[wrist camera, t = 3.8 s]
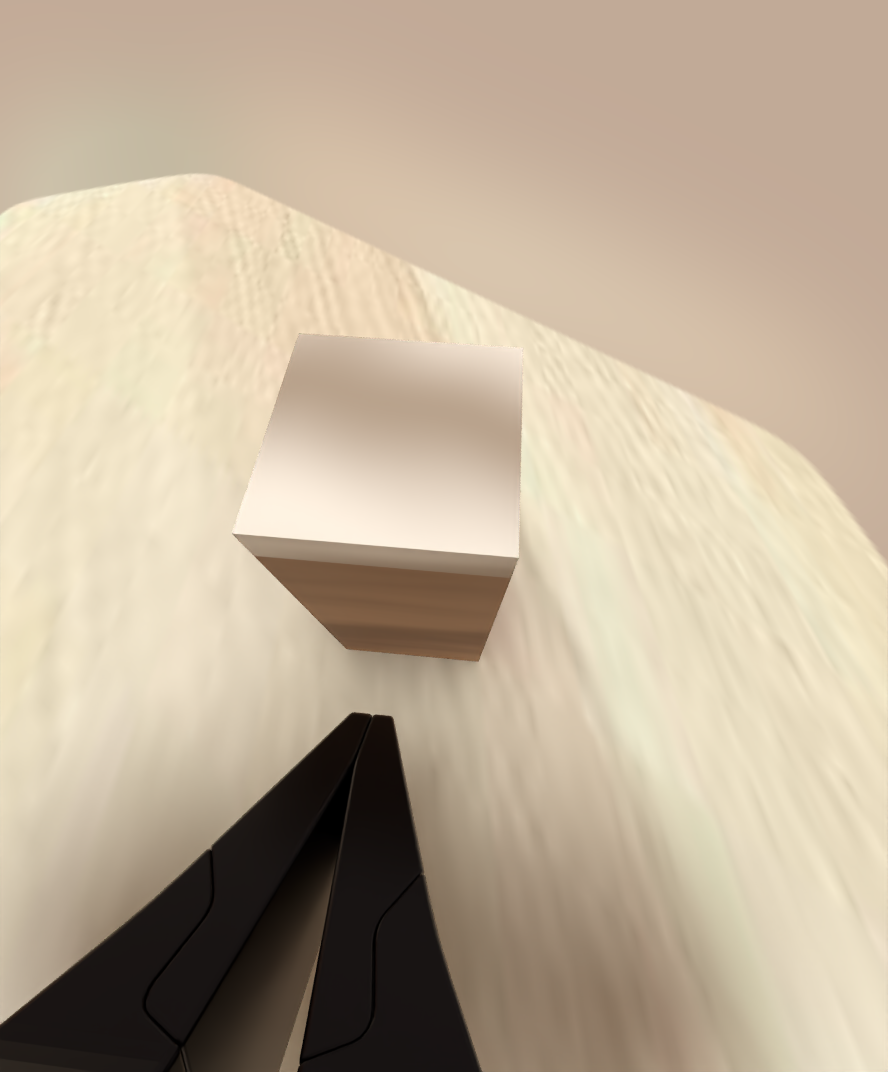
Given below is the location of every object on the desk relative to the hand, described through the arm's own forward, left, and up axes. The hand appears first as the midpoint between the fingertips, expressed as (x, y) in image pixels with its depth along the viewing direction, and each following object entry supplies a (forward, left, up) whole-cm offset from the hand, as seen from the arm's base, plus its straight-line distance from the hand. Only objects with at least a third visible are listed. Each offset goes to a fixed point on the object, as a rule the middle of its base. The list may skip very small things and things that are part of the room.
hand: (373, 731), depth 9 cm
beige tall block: (+1, +5, -7) cm, 9 cm away
